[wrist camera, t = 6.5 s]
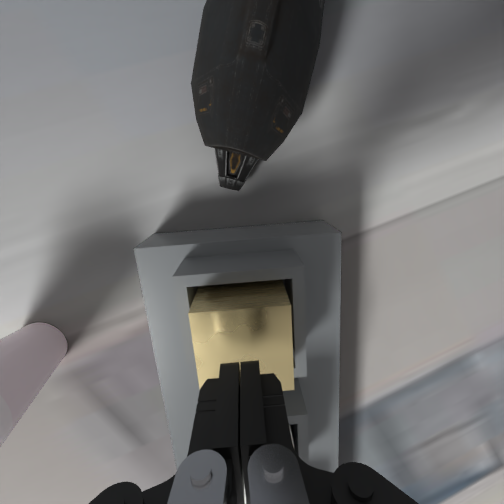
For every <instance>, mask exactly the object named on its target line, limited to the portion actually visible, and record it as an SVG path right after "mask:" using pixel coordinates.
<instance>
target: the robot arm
mask: <svg viewBox="0 0 504 504" xmlns="http://www.w3.org/2000/svg"><path fill="white" fill-rule="evenodd" d="M244 485H245V494H246V504H418V503H417V502H416V501H414V500H413V499H412V498H410V497H409V496H408V495H406V494H405V493H404V492H402V491H401V490H400V489H399V488H397V487H396V486H395V485H393V484H392V483H391V482H389V481H388V480H387V479H385V478H384V477H383V476H382V475H380V474H379V473H378V472H376V471H375V470H373V469H372V468H370V467H369V466H367V465H364V464H361V463H357V462H349V463H345V464H342V465H341V466H339V467H338V468H337V469H336V470H335V472H334V473H333V472H329V471H325V470H321V469H317V468H314V467H312V466H310V465H308V464H307V463H305V462H304V461H303V460H302V459H301V458H300V457H299V456H298V455H297V453H296V452H295V449H294V447H293V444H292V439H291V433H290V428H289V423H288V417H287V412H286V407H285V401H284V396H283V391H282V385H281V382H280V381H279V379H278V378H277V377H276V375H275V374H274V373H269V374H260V368H259V360H256V361H244V362H240V364H239V362H234V363H222V364H220V371H219V378H212V379H207V380H206V381H205V383H204V384H203V386H202V387H201V388H200V391H199V396H198V404H197V407H196V414H195V418H194V423H193V429H192V434H191V439H190V445H189V450H188V455H187V458H185V459H184V460H183V461H182V463H181V464H180V466H179V467H178V469H177V472H176V474H175V475H174V476H173V477H171V478H170V479H169V480H167V481H165V482H163V483H161V484H159V485H157V486H154V487H152V488H150V489H148V490H145V491H143V492H142V491H141V489H140V488H139V487H138V486H137V485H136V484H134V483H132V482H121V483H117V484H114V485H112V486H110V487H108V488H107V489H105V490H104V491H102V492H101V493H100V494H99V495H98V496H97V497H96V498H94V499H93V500H92V501H91V502H90V503H89V504H245V501H244Z"/></svg>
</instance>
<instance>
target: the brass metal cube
mask: <svg viewBox="0 0 504 504" xmlns="http://www.w3.org/2000/svg"><path fill="white" fill-rule="evenodd" d="M188 315H189V322H190V329H191V335H192V342H193V349H194V355H195V362H196V369H197V375H198V382H199V388H201V387H202V386H203V384H204V383H205V381H206V380H207V379H212V378H219V371H220V364H222V363H234V362H239V364H240V362H244V361H256V360H259V368H260V374H269V373H274V374H275V375H276V377H277V378H278V379H279V381H280V382H281V385H282V391H288V390H294V367H293V342H292V316H291V304H290V301H289V298H288V295H287V292H286V289H285V287H284V284H283V281H282V279H280V280H268V281H255V282H243V283H230V284H218V285H206V286H198V289H197V291H196V294H195V297H194V299H193V302H192V305H191V307H190V310H189V313H188Z"/></svg>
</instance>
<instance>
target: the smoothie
mask: <svg viewBox="0 0 504 504" xmlns="http://www.w3.org/2000/svg"><path fill="white" fill-rule="evenodd" d="M67 348H68V345H67V340H66V338H65V336H64V335H63V333H62V332H61V331H60V330H59V329H57V328H56V327H54V326H52V325H50V324H47V323H41V322H36V323H31V324H29V325H27V326H25V327H23V328H21V329H19V330H17V331H15V332H14V333H12V334H10V335H8V336H6V337H4V338H2V339H0V447H1V445H2V444H3V443H4V441H5V440H6V439H7V437H8V436H9V434H10V432H11V431H12V430H13V428H14V427H15V425H16V424H17V423H18V421H19V420H20V418H21V417H22V415H23V414H24V413H25V411H26V410H27V408H28V407H29V406H30V404H31V403H32V401H33V400H34V398H35V397H36V396H37V394H38V393H39V391H40V390H41V389H42V387H43V386H44V384H45V383H46V381H47V380H48V379H49V377H50V376H51V374H52V373H53V372H54V370H55V369H56V367H57V366H58V364H59V363H60V362H61V360H62V359H63V357H64V356H65V354H66V352H67Z"/></svg>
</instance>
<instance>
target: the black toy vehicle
mask: <svg viewBox="0 0 504 504" xmlns="http://www.w3.org/2000/svg"><path fill="white" fill-rule="evenodd" d="M323 7H324V0H207V1H206V4H205V6H204V9H203V15H202V21H201V27H200V33H199V39H198V45H197V51H196V57H195V63H194V69H193V75H192V81H191V86H192V93H193V100H194V107H195V114H196V120H197V123H198V126H199V129H200V132H201V135H202V138H203V141H204V144H205V146H209V147H213V148H215V154H216V160H217V167H218V174H219V175H218V177H219V183H220V186H221V187H224V188H228V189H232V190H237V191H239V190H240V189H241V187H242V186H243V184H244V183H245V181H246V178H247V177H248V175H249V173H250V172H251V170H252V169H253V167H254V166H255V164H256V162H257V161H258V159H261V160H265V161H266V160H267V159H268V158H269V157H270V156H271V155H272V154H273V153H274V151H275V150H276V149H277V148H278V147H279V146H280V145H281V144H282V143H283V142H284V140H285V139H286V137H287V136H288V134H289V132H290V131H291V129H292V128H293V126H294V125H295V123H296V122H297V120H298V118H299V117H300V115H301V114H302V111H303V107H304V103H305V99H306V95H307V92H308V88H309V84H310V80H311V76H312V72H313V68H314V64H315V60H316V56H317V52H318V48H319V44H320V36H321V26H322V17H323Z"/></svg>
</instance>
